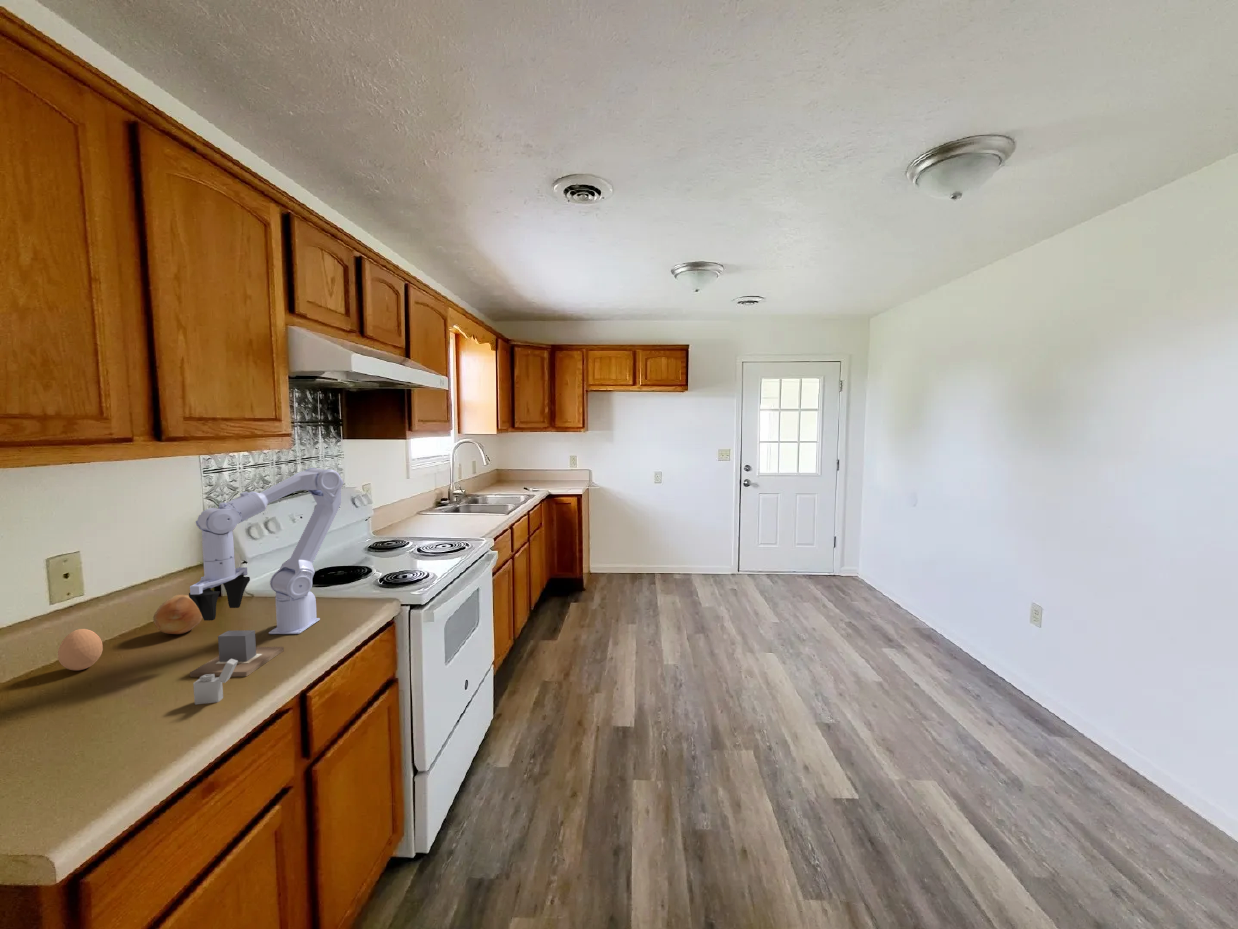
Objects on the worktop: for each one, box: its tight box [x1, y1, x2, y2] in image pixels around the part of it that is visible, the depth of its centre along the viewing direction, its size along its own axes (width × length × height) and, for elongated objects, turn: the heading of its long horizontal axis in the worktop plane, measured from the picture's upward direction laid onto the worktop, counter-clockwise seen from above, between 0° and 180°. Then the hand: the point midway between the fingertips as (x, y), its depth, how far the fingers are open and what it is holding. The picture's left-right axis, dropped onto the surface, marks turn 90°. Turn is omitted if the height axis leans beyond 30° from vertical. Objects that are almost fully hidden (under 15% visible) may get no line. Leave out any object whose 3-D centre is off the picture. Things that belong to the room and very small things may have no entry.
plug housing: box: [217, 629, 257, 662], centre depth 109 cm, size 3×6×6 cm, turn 92°
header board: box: [189, 646, 285, 678], centre depth 109 cm, size 12×12×4 cm
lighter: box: [192, 659, 238, 706], centre depth 94 cm, size 7×2×8 cm, turn 103°
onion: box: [152, 593, 203, 635], centre depth 125 cm, size 10×10×10 cm
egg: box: [57, 628, 104, 671], centre depth 106 cm, size 7×7×9 cm
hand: (222, 613), depth 114 cm, fingers open, 7 cm apart
